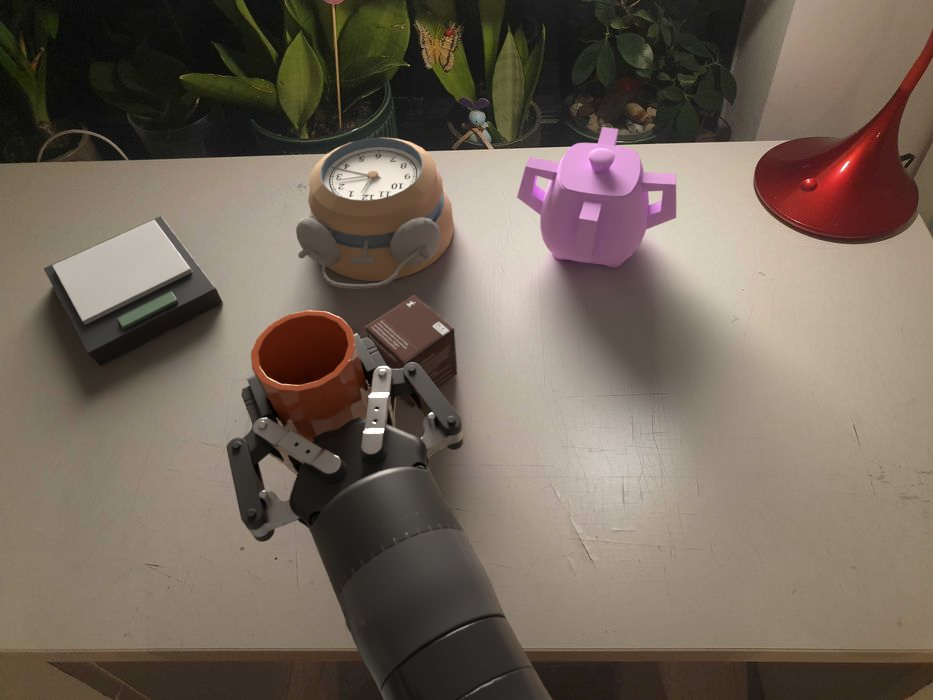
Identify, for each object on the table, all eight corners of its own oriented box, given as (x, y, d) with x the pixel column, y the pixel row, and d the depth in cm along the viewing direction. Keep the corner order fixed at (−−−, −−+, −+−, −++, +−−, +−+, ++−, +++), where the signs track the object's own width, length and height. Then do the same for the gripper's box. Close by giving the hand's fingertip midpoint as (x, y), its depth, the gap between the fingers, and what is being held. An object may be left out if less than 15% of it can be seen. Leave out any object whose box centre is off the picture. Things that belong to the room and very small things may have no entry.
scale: (99, 367, 68) (84, 349, 66) (54, 283, 77) (40, 264, 74) (223, 303, 73) (214, 284, 71) (168, 230, 82) (158, 211, 79)
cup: (319, 490, 45) (281, 409, 37) (277, 430, 48) (233, 343, 41) (395, 440, 47) (374, 353, 40) (350, 385, 51) (322, 295, 43)
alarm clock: (454, 122, 77) (437, 259, 63) (458, 187, 84) (444, 323, 70) (311, 123, 78) (263, 258, 64) (327, 187, 86) (287, 320, 71)
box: (374, 373, 66) (362, 325, 60) (421, 341, 69) (413, 292, 63) (412, 410, 63) (403, 363, 58) (459, 375, 66) (455, 327, 60)
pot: (532, 184, 84) (535, 99, 75) (672, 201, 81) (693, 115, 72) (500, 282, 73) (500, 198, 64) (660, 307, 70) (684, 221, 61)
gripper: (525, 483, 34) (394, 284, 44) (256, 622, 30) (178, 371, 40) (522, 541, 40) (407, 355, 49) (296, 663, 36) (220, 436, 46)
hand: (305, 363), depth 45 cm, fingers closed on cup, 6 cm apart
